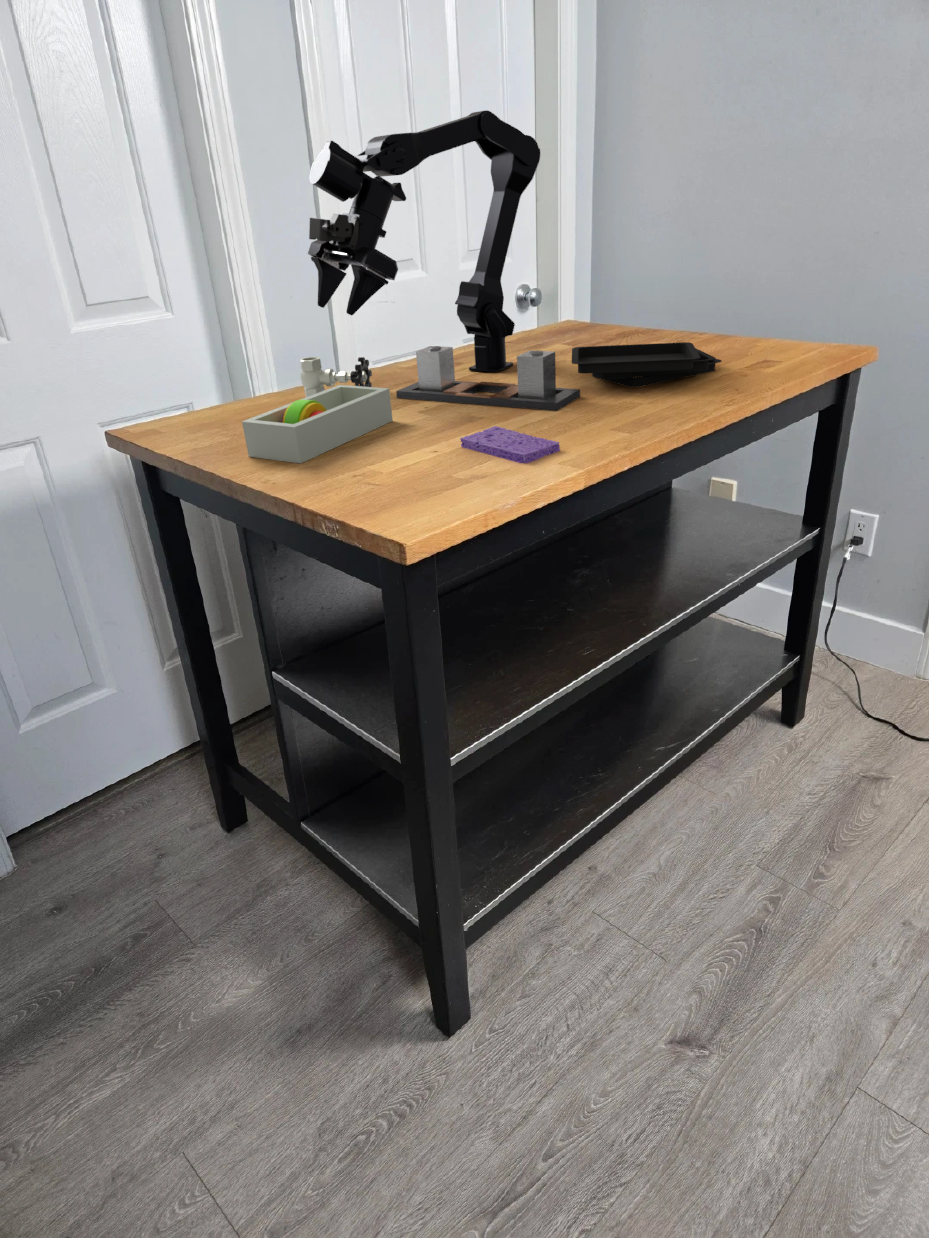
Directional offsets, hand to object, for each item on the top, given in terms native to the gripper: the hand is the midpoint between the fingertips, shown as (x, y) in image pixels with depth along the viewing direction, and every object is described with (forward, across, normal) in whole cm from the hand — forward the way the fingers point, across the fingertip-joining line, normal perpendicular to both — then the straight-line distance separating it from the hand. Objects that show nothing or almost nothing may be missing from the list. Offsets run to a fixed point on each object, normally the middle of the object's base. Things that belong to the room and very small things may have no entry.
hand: (334, 310), depth 137 cm
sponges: (+11, +45, +6) cm, 47 cm away
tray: (-9, +33, +42) cm, 54 cm away
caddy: (+19, +19, -6) cm, 28 cm away
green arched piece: (+19, +20, -6) cm, 28 cm away
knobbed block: (+6, +12, +17) cm, 22 cm away
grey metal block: (+2, +29, +23) cm, 37 cm away
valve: (+13, -3, +8) cm, 15 cm away
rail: (+4, +20, +20) cm, 29 cm away
